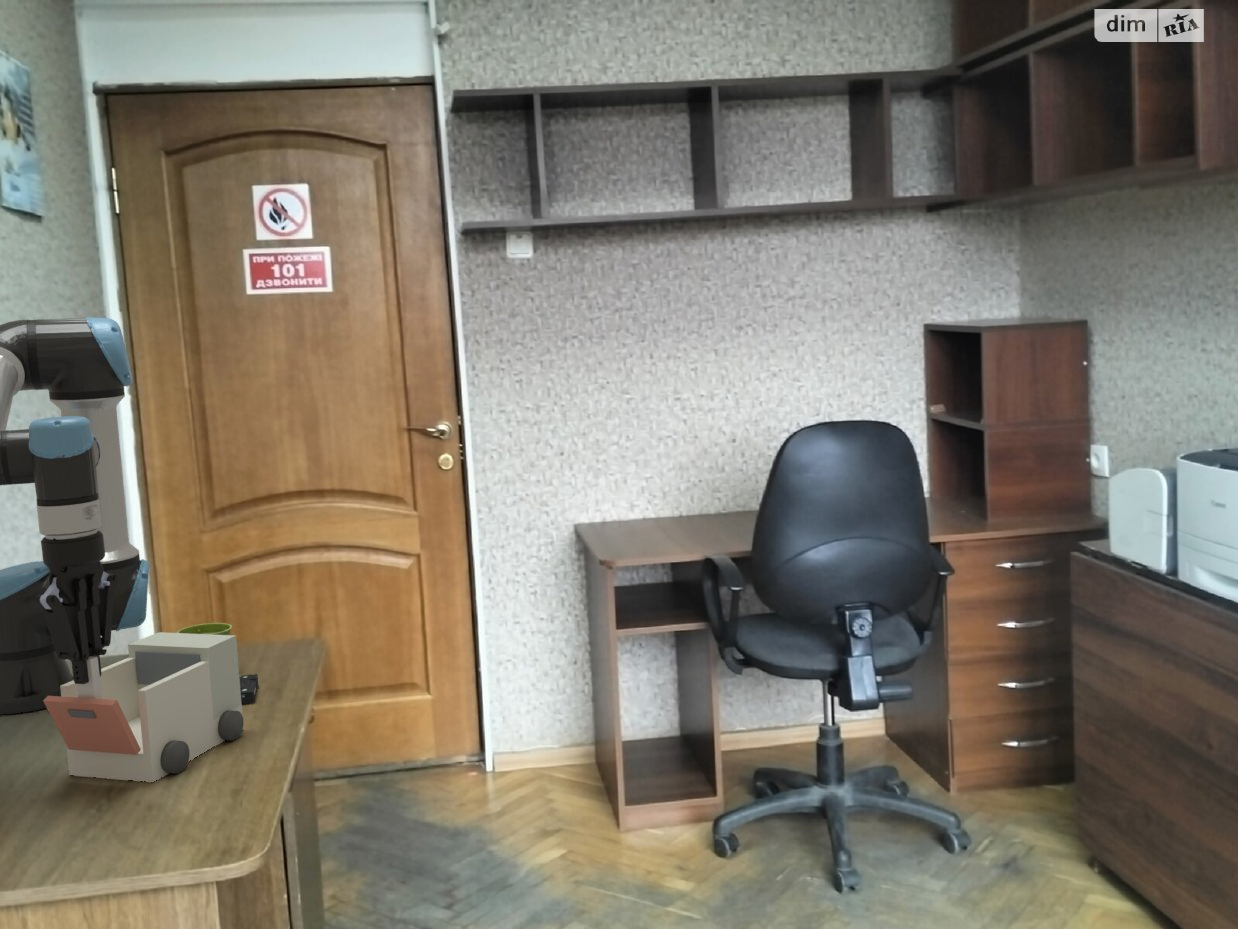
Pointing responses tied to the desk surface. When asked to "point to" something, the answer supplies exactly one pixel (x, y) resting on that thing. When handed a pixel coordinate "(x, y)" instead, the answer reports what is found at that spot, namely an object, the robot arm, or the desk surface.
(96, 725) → the panel
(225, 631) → the plant pot
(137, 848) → the desk surface
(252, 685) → the disk drive
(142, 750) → the truck
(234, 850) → the desk surface
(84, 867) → the desk surface
